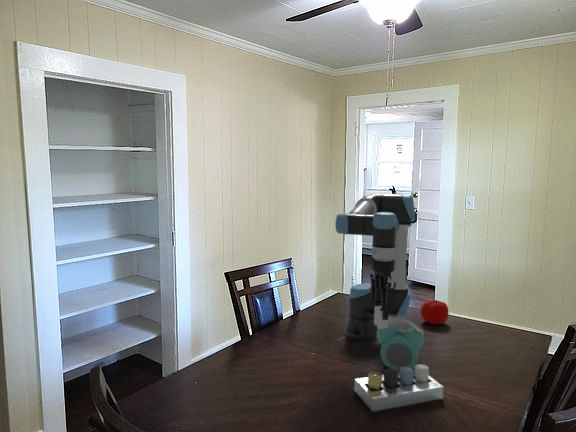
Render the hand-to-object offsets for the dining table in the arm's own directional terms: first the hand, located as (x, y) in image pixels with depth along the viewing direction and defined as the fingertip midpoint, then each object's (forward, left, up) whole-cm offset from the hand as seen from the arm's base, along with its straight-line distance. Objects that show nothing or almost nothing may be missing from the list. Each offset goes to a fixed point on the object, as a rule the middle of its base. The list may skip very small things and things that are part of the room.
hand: (380, 326), depth 145 cm
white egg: (+6, +13, -20) cm, 24 cm away
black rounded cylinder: (+6, +1, -20) cm, 21 cm away
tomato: (-47, +57, -23) cm, 77 cm away
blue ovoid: (+6, +7, -20) cm, 22 cm away
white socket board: (+6, +4, -23) cm, 24 cm away
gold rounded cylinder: (+6, -5, -20) cm, 21 cm away
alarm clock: (-11, +15, -23) cm, 29 cm away
